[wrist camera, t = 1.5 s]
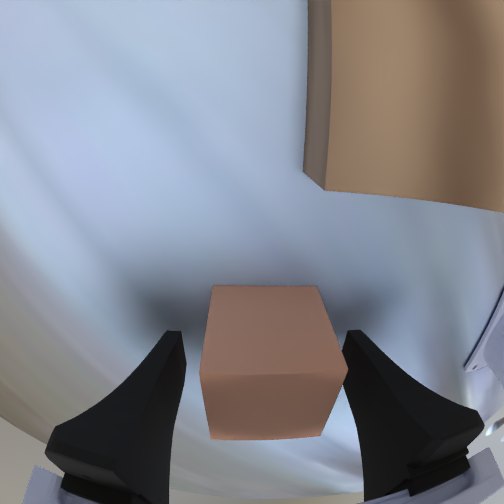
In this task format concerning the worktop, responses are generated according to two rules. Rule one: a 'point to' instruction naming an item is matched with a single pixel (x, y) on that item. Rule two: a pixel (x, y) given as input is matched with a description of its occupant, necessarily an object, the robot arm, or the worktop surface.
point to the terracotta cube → (269, 363)
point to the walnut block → (407, 99)
